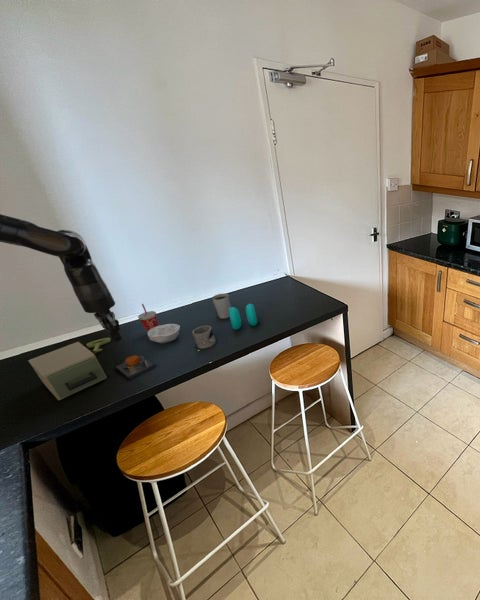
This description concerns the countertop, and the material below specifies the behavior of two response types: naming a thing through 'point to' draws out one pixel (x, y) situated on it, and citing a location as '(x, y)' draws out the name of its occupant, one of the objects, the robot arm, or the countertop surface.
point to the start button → (132, 360)
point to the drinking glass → (222, 305)
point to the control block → (135, 367)
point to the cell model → (164, 333)
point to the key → (98, 344)
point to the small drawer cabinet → (61, 362)
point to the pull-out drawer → (76, 377)
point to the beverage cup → (148, 319)
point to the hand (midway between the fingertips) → (117, 340)
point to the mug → (204, 336)
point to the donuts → (237, 320)
